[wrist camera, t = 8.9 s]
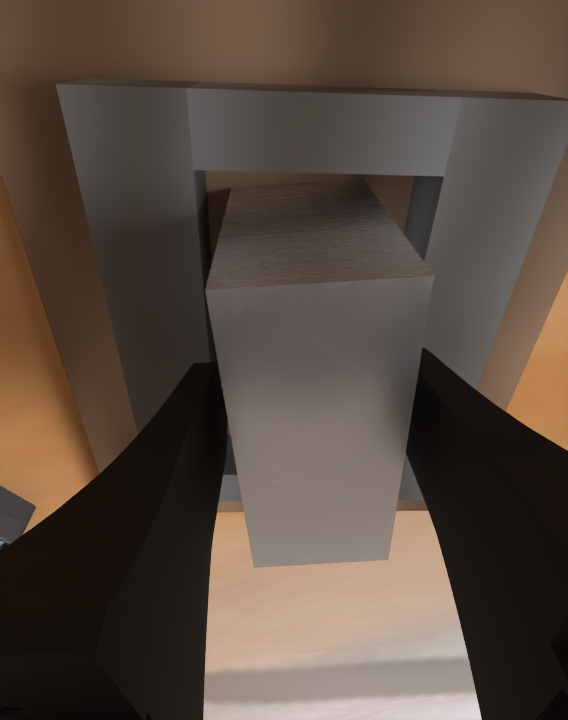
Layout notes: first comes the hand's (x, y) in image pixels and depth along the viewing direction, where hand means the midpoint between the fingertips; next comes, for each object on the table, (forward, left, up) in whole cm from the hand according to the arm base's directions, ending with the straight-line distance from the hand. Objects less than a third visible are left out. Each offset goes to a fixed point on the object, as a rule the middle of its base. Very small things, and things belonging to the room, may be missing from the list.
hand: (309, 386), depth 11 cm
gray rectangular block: (0, 0, -3) cm, 3 cm away
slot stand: (0, 0, -5) cm, 5 cm away
